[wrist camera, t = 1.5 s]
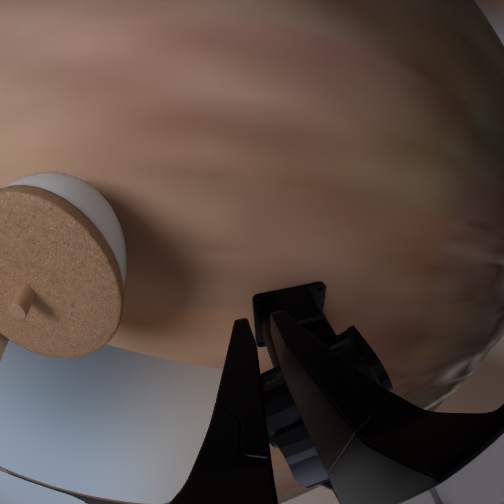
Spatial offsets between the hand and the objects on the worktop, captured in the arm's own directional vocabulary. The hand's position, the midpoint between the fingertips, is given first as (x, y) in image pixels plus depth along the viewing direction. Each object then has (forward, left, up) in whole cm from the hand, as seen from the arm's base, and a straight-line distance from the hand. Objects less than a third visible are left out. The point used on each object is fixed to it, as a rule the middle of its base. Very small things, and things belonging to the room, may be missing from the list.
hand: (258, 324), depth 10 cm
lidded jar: (0, +11, -12) cm, 17 cm away
